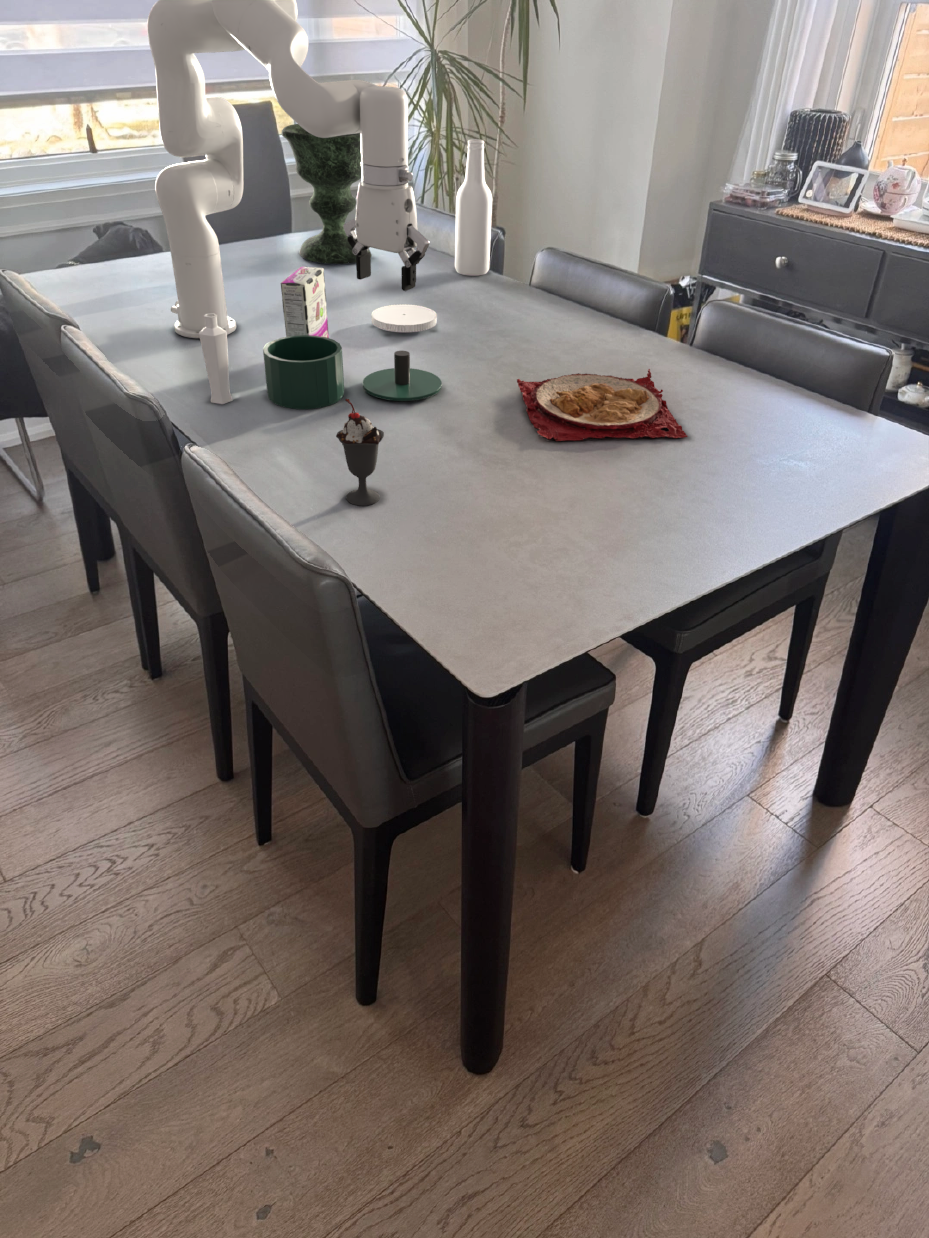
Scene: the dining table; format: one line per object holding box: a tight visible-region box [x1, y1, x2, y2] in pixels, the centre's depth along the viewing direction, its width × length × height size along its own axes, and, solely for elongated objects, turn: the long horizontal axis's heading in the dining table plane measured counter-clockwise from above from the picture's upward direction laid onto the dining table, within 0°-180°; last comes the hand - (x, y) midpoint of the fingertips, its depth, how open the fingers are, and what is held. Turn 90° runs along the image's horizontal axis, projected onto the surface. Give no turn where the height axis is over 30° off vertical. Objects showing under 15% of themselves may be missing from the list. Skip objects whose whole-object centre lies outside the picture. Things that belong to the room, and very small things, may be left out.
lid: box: [362, 350, 443, 402], centre depth 168 cm, size 15×15×7 cm
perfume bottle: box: [199, 313, 234, 405], centre depth 159 cm, size 5×4×15 cm
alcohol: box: [454, 138, 493, 277], centre depth 225 cm, size 9×9×30 cm
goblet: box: [280, 123, 373, 265], centre depth 233 cm, size 22×22×30 cm
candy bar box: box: [280, 266, 330, 339], centre depth 175 cm, size 11×5×16 cm, turn 168°
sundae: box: [335, 398, 385, 507], centre depth 131 cm, size 7×7×15 cm
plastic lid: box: [370, 303, 438, 333], centre depth 197 cm, size 14×14×2 cm
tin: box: [262, 335, 345, 410], centre depth 164 cm, size 14×14×8 cm
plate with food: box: [516, 368, 689, 442], centre depth 162 cm, size 24×26×4 cm
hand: (385, 283), depth 158 cm, fingers open, 9 cm apart
